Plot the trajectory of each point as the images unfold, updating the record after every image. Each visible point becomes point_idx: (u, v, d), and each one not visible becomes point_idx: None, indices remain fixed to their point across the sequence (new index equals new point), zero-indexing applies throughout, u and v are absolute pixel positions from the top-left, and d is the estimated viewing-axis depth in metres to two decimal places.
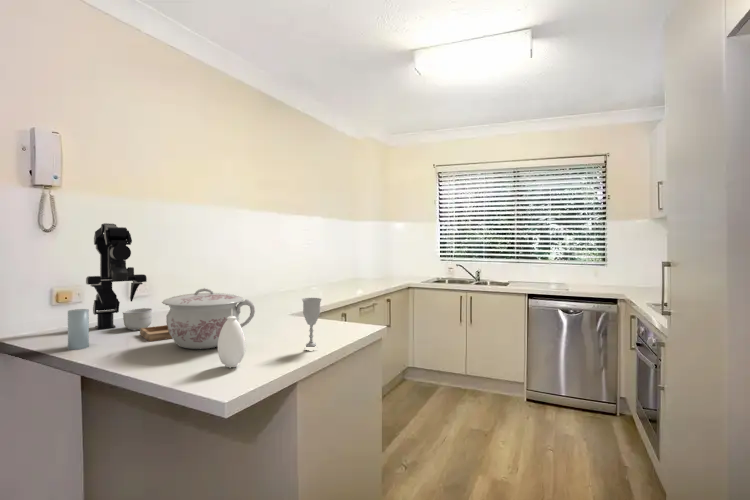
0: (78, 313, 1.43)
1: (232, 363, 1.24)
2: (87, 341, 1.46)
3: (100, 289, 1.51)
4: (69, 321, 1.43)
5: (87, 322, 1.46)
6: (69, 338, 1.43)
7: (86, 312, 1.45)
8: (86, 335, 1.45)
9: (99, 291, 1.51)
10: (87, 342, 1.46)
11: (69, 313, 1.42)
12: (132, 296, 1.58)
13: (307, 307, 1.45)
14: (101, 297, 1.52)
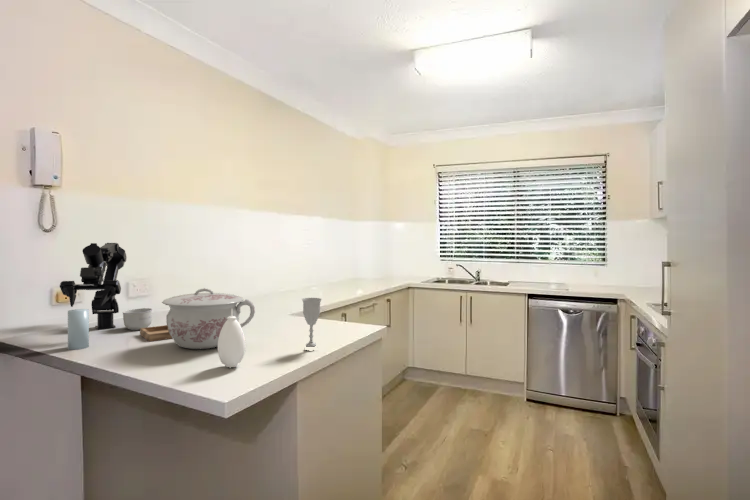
0: (78, 313, 1.43)
1: (232, 363, 1.24)
2: (87, 341, 1.46)
3: (71, 292, 1.53)
4: (69, 321, 1.43)
5: (87, 322, 1.46)
6: (69, 338, 1.43)
7: (86, 312, 1.45)
8: (86, 335, 1.45)
9: (70, 294, 1.53)
10: (87, 342, 1.46)
11: (69, 313, 1.42)
12: (102, 299, 1.55)
13: (307, 307, 1.45)
14: (70, 299, 1.52)
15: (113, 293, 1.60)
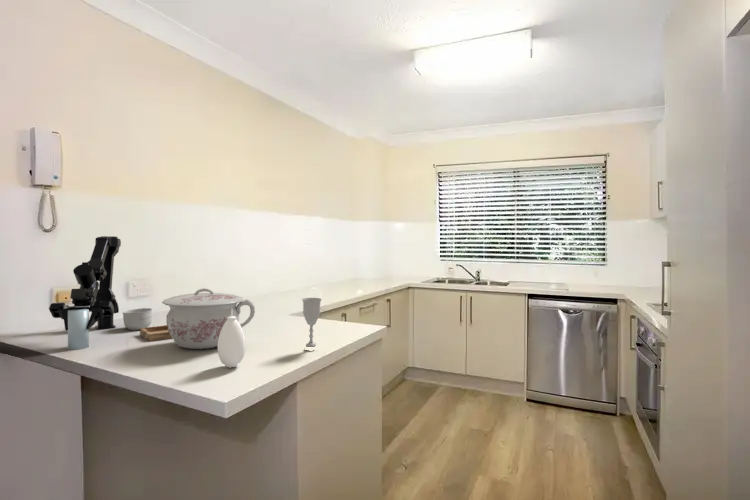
0: (78, 313, 1.43)
1: (232, 363, 1.24)
2: (87, 341, 1.46)
3: (66, 314, 1.45)
4: (69, 321, 1.43)
5: (87, 322, 1.46)
6: (69, 338, 1.43)
7: (86, 312, 1.45)
8: (86, 335, 1.45)
9: (64, 316, 1.45)
10: (87, 342, 1.46)
11: (69, 313, 1.42)
12: (89, 322, 1.46)
13: (307, 307, 1.45)
14: (65, 322, 1.44)
15: (101, 315, 1.51)
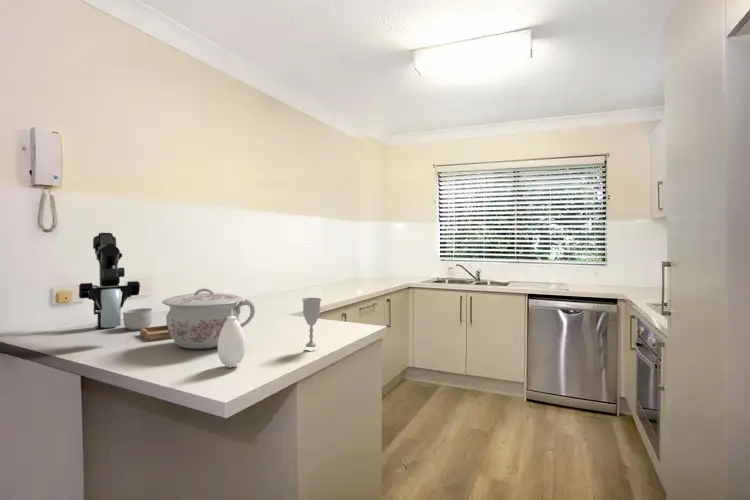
0: (114, 292, 1.48)
1: (232, 363, 1.24)
2: (120, 319, 1.51)
3: (97, 294, 1.48)
4: (104, 300, 1.47)
5: (120, 301, 1.51)
6: (104, 316, 1.47)
7: (120, 291, 1.50)
8: (120, 313, 1.50)
9: (96, 296, 1.48)
10: (120, 320, 1.51)
11: (104, 292, 1.47)
12: (122, 301, 1.51)
13: (307, 307, 1.45)
14: (98, 301, 1.47)
15: (129, 294, 1.57)
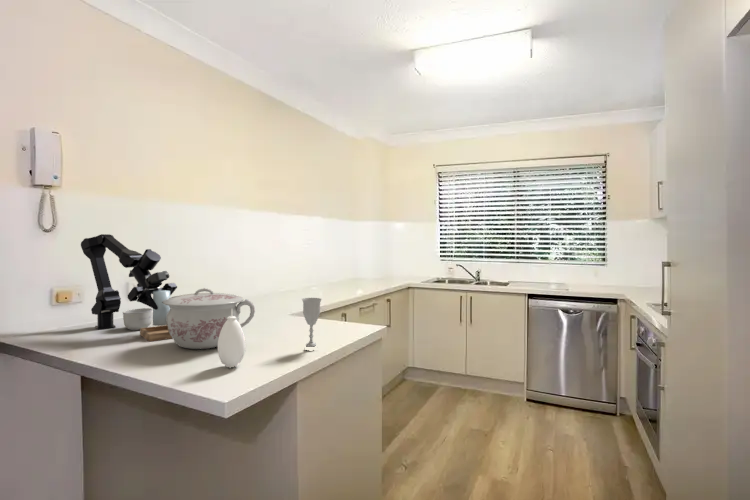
0: (168, 293, 1.64)
1: (232, 363, 1.24)
2: None
3: (150, 296, 1.61)
4: (161, 300, 1.61)
5: None
6: (161, 315, 1.61)
7: None
8: None
9: (150, 298, 1.60)
10: None
11: (161, 293, 1.61)
12: None
13: (307, 307, 1.45)
14: (154, 302, 1.61)
15: None
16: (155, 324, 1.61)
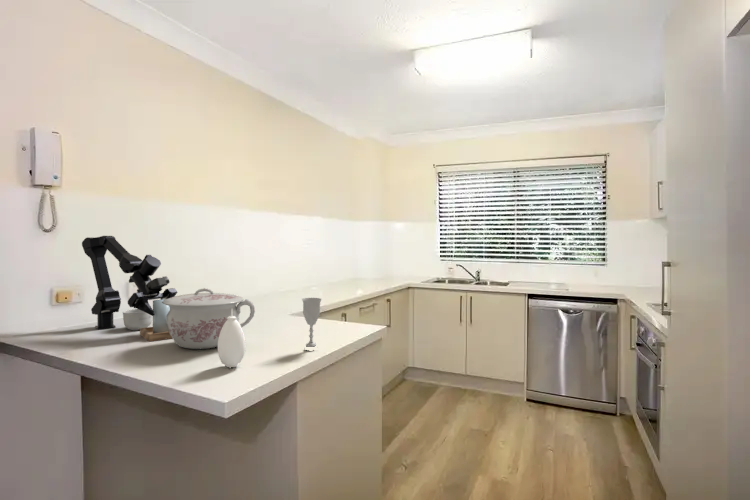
0: None
1: (232, 363, 1.24)
2: None
3: (147, 302, 1.59)
4: (161, 310, 1.61)
5: None
6: (161, 325, 1.62)
7: None
8: None
9: (147, 304, 1.59)
10: None
11: (161, 303, 1.61)
12: None
13: (307, 307, 1.45)
14: (151, 309, 1.59)
15: None
16: None
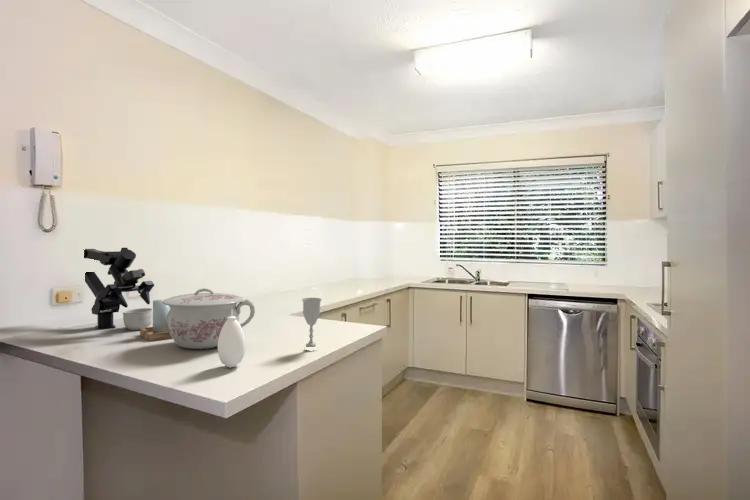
0: None
1: (232, 363, 1.24)
2: None
3: (120, 294, 1.62)
4: (161, 310, 1.61)
5: None
6: (161, 325, 1.62)
7: None
8: None
9: (120, 296, 1.62)
10: None
11: (161, 303, 1.61)
12: (148, 298, 1.71)
13: (307, 307, 1.45)
14: (124, 300, 1.62)
15: None
16: None
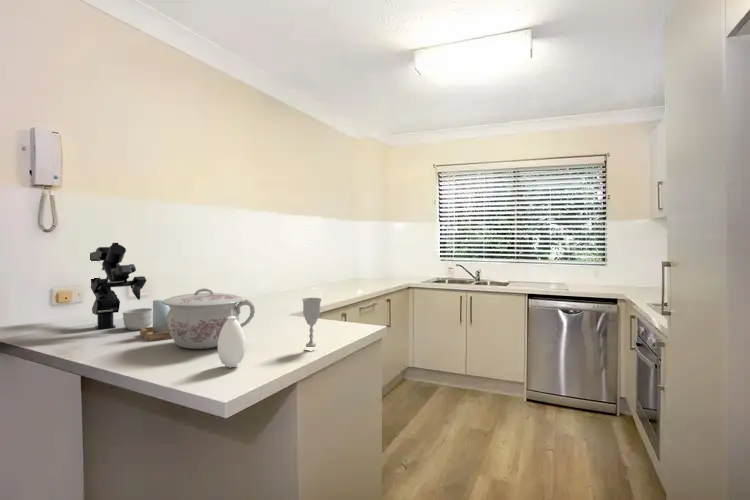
0: None
1: (232, 363, 1.24)
2: None
3: (109, 288, 1.62)
4: (161, 310, 1.61)
5: None
6: (161, 325, 1.62)
7: None
8: None
9: (109, 290, 1.62)
10: None
11: (161, 303, 1.61)
12: (139, 294, 1.70)
13: (307, 307, 1.45)
14: (112, 295, 1.62)
15: None
16: None
